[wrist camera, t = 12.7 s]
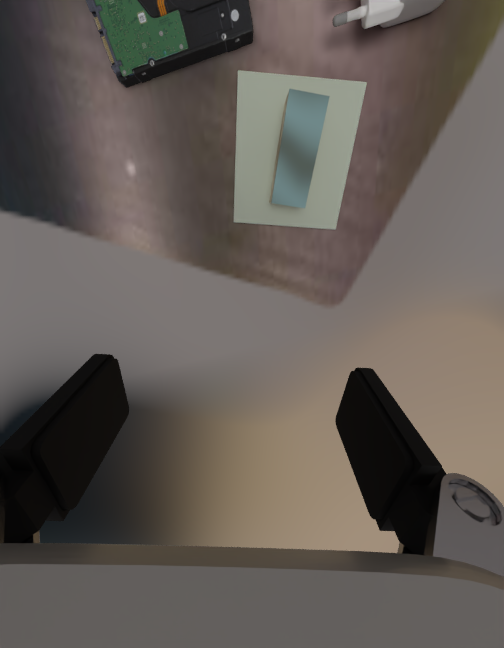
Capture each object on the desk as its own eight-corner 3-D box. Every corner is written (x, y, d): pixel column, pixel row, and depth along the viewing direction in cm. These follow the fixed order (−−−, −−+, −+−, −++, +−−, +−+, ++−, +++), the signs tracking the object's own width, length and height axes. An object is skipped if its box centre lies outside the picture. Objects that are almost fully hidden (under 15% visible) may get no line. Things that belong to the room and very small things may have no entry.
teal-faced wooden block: (284, 103, 27) (289, 88, 23) (319, 109, 27) (329, 96, 23) (269, 202, 31) (271, 203, 28) (298, 207, 32) (304, 208, 28)
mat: (233, 221, 33) (233, 222, 32) (238, 72, 26) (237, 70, 26) (334, 229, 33) (335, 229, 33) (364, 84, 27) (366, 82, 26)
